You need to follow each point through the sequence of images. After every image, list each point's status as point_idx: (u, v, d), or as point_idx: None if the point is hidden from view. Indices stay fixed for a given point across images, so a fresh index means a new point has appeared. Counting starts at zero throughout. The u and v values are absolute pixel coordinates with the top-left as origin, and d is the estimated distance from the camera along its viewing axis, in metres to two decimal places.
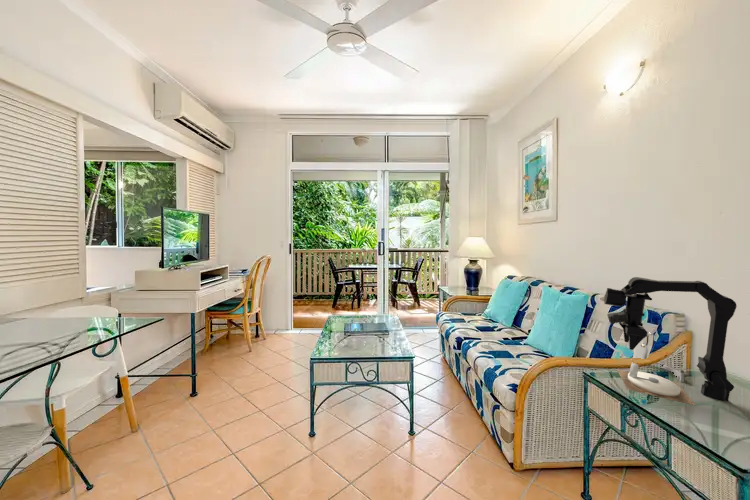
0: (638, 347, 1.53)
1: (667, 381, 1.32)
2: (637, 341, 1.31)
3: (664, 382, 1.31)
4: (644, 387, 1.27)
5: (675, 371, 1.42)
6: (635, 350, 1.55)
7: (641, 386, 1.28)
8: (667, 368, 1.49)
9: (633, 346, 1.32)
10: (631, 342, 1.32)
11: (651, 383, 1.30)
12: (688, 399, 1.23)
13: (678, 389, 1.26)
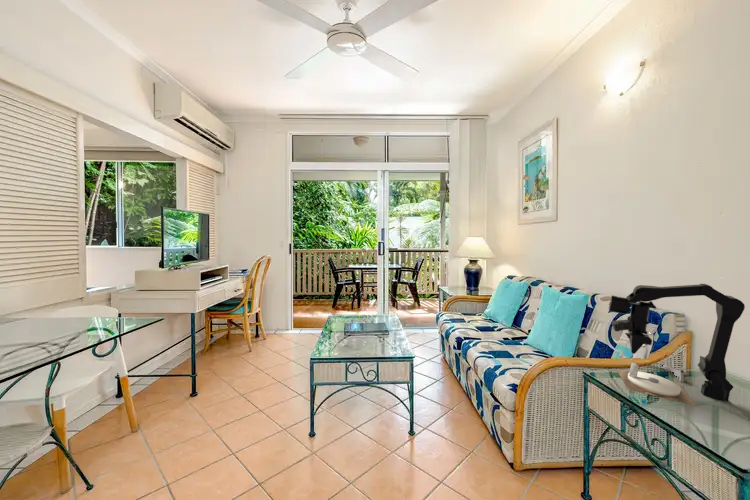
0: None
1: (667, 381, 1.32)
2: (639, 345, 1.36)
3: (664, 382, 1.31)
4: (644, 387, 1.27)
5: (675, 371, 1.42)
6: None
7: (641, 386, 1.28)
8: (667, 368, 1.49)
9: (635, 350, 1.37)
10: (633, 346, 1.37)
11: (651, 383, 1.30)
12: (688, 399, 1.23)
13: (678, 389, 1.26)
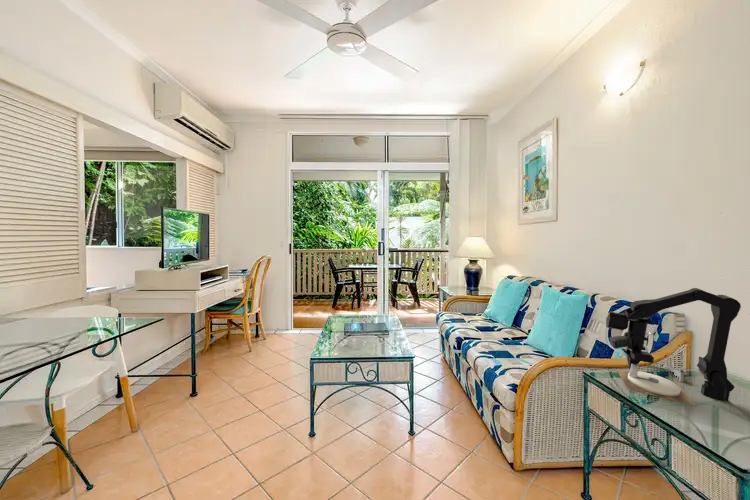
0: None
1: (667, 381, 1.32)
2: (637, 361, 1.35)
3: (664, 382, 1.31)
4: (645, 387, 1.27)
5: (675, 371, 1.42)
6: None
7: (641, 386, 1.28)
8: (667, 368, 1.49)
9: None
10: (631, 362, 1.36)
11: (651, 383, 1.30)
12: (688, 399, 1.23)
13: (678, 389, 1.26)
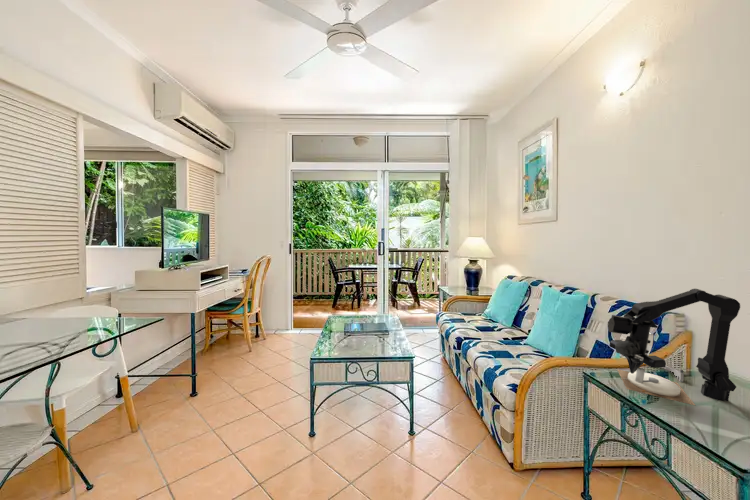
0: None
1: (657, 377, 1.35)
2: (639, 365, 1.32)
3: (659, 379, 1.33)
4: (661, 392, 1.24)
5: (675, 371, 1.42)
6: None
7: (657, 392, 1.25)
8: (667, 368, 1.49)
9: (635, 370, 1.33)
10: (635, 367, 1.32)
11: (657, 385, 1.29)
12: (688, 399, 1.23)
13: (675, 384, 1.30)
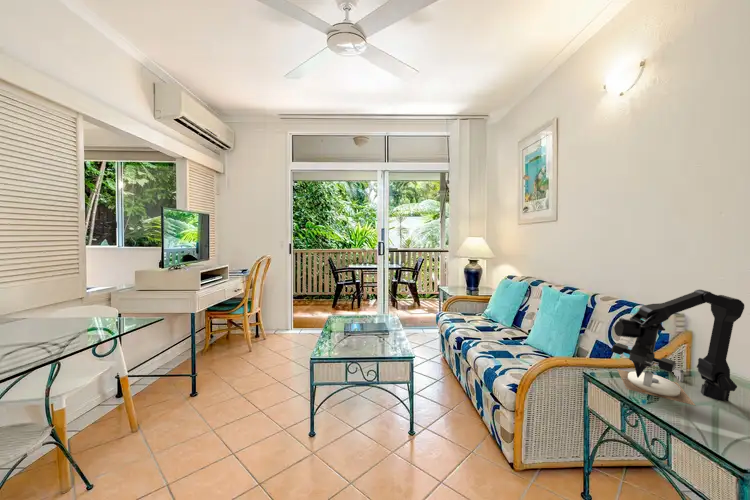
0: None
1: None
2: None
3: (653, 377, 1.35)
4: (672, 393, 1.24)
5: (675, 371, 1.42)
6: None
7: (668, 394, 1.24)
8: None
9: (641, 373, 1.30)
10: (642, 371, 1.28)
11: (661, 385, 1.29)
12: (688, 399, 1.23)
13: (668, 380, 1.33)
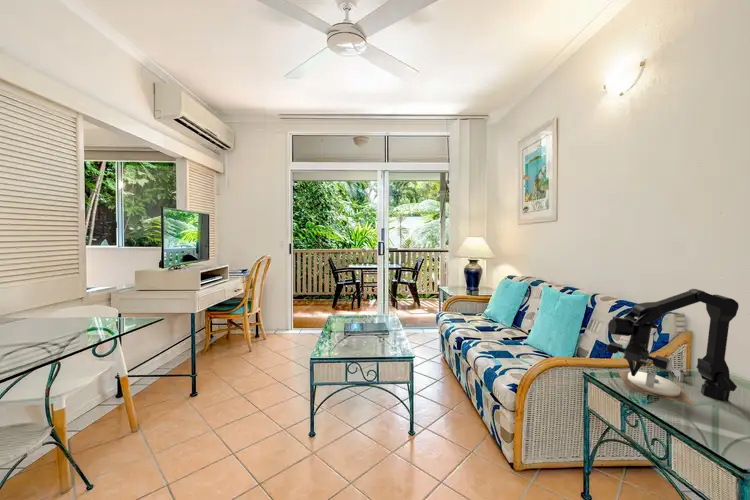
0: None
1: (647, 374, 1.37)
2: (640, 366, 1.30)
3: None
4: (674, 393, 1.24)
5: (674, 371, 1.42)
6: None
7: (671, 394, 1.24)
8: (667, 368, 1.49)
9: (636, 372, 1.30)
10: (638, 369, 1.29)
11: (662, 385, 1.29)
12: (688, 399, 1.23)
13: (665, 379, 1.34)
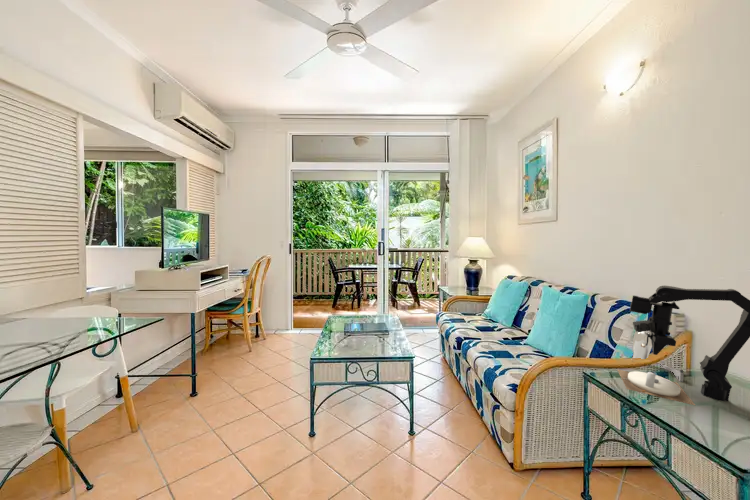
0: (638, 347, 1.53)
1: (647, 374, 1.37)
2: (661, 346, 1.34)
3: None
4: (674, 393, 1.24)
5: (674, 371, 1.42)
6: (635, 350, 1.55)
7: (671, 394, 1.24)
8: (667, 368, 1.49)
9: (657, 351, 1.35)
10: (655, 347, 1.35)
11: (662, 385, 1.29)
12: (688, 399, 1.23)
13: (665, 379, 1.34)
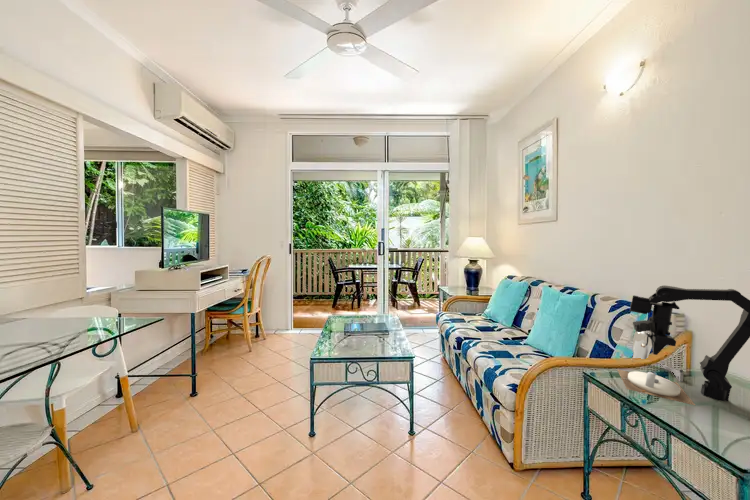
0: (638, 347, 1.53)
1: (647, 374, 1.37)
2: (661, 346, 1.34)
3: None
4: (674, 393, 1.24)
5: (674, 371, 1.42)
6: (635, 350, 1.55)
7: (671, 394, 1.24)
8: (666, 368, 1.49)
9: (657, 351, 1.35)
10: (655, 347, 1.35)
11: (662, 385, 1.29)
12: (688, 399, 1.23)
13: (665, 379, 1.34)
